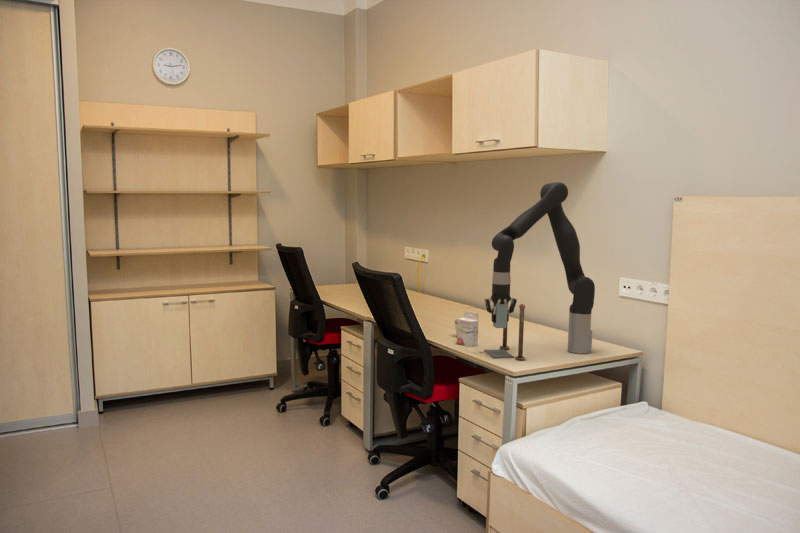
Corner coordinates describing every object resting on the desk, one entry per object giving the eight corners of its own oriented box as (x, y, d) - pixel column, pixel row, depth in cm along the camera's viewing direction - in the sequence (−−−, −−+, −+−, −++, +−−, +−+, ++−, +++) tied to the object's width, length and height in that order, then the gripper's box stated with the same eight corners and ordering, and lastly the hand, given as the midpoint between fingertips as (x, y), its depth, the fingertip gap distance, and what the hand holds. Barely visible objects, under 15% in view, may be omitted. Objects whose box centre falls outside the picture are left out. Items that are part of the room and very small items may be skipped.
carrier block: (502, 325, 256) (503, 302, 255) (506, 327, 252) (507, 304, 251) (492, 325, 255) (493, 302, 254) (496, 328, 251) (497, 304, 250)
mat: (503, 350, 262) (503, 349, 261) (513, 357, 250) (514, 356, 250) (483, 351, 260) (483, 350, 260) (493, 358, 248) (493, 357, 248)
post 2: (522, 358, 249) (525, 303, 247) (526, 360, 246) (528, 304, 243) (513, 358, 249) (515, 303, 246) (517, 361, 245) (519, 304, 242)
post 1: (507, 347, 267) (509, 296, 265) (510, 350, 263) (512, 297, 261) (498, 348, 266) (500, 296, 264) (501, 350, 262) (503, 297, 260)
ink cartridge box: (456, 344, 273) (457, 312, 271) (462, 342, 277) (463, 310, 275) (471, 347, 267) (472, 314, 266) (478, 345, 271) (479, 313, 269)
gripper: (514, 281, 257) (512, 320, 258) (482, 281, 254) (480, 321, 256) (520, 283, 249) (519, 324, 251) (488, 283, 247) (486, 324, 248)
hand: (499, 322), depth 253 cm, fingers closed on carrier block, 4 cm apart
